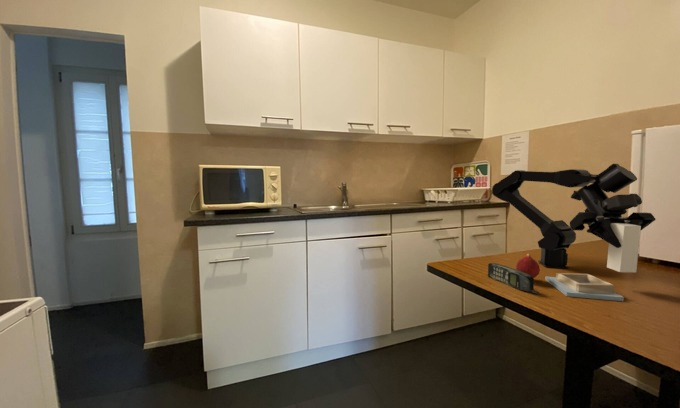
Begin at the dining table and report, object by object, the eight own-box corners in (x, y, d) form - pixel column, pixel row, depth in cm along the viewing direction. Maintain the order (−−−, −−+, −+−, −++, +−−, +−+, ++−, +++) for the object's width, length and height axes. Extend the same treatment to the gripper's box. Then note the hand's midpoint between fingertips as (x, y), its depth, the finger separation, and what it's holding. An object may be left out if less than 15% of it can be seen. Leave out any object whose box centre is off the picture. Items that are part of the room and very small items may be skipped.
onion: (542, 284, 79) (544, 257, 79) (520, 283, 81) (522, 256, 80) (533, 277, 85) (534, 252, 84) (512, 276, 86) (513, 251, 85)
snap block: (606, 267, 78) (610, 223, 77) (622, 267, 78) (626, 223, 76) (619, 272, 74) (624, 225, 73) (636, 272, 74) (640, 225, 72)
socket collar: (555, 279, 80) (556, 273, 80) (587, 280, 80) (587, 273, 79) (578, 291, 72) (578, 284, 72) (614, 293, 71) (614, 285, 71)
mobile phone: (486, 262, 86) (534, 277, 71) (493, 261, 87) (542, 276, 72) (486, 278, 86) (533, 296, 72) (493, 276, 87) (541, 294, 73)
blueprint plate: (566, 296, 72) (566, 292, 72) (545, 279, 83) (545, 276, 83) (623, 301, 69) (623, 297, 69) (593, 283, 80) (593, 280, 80)
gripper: (580, 183, 78) (611, 229, 68) (652, 183, 77) (695, 230, 67) (558, 208, 87) (583, 252, 77) (623, 208, 85) (657, 253, 75)
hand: (628, 247), depth 74 cm, fingers closed on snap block, 4 cm apart
